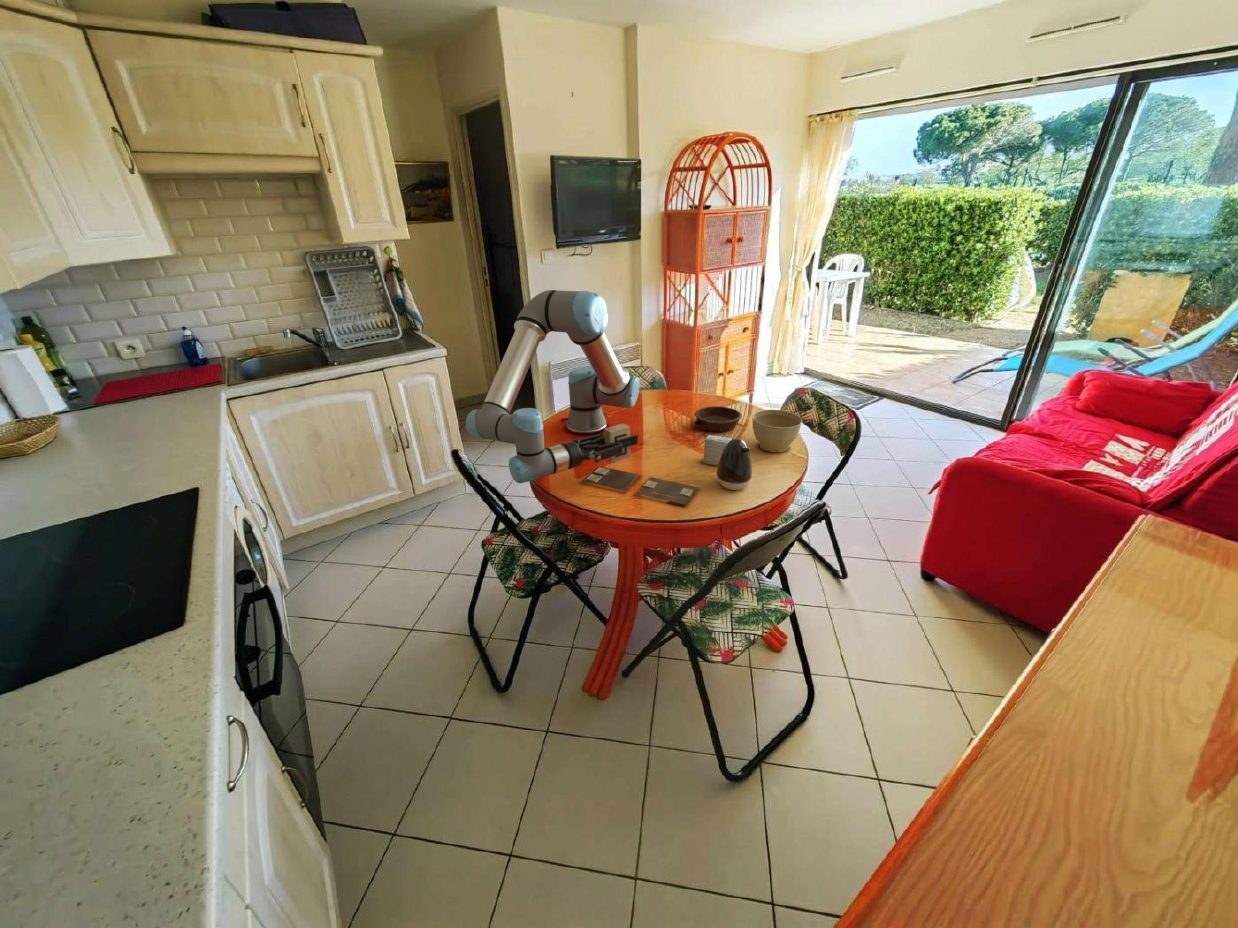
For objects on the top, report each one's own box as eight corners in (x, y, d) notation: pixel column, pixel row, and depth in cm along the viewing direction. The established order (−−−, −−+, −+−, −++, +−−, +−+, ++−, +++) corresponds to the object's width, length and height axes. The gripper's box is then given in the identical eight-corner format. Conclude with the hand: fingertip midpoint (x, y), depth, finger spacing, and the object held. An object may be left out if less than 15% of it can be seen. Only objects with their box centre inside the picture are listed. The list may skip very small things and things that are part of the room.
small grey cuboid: (631, 457, 154) (630, 427, 150) (611, 463, 151) (610, 432, 146) (624, 453, 157) (623, 423, 153) (605, 459, 154) (603, 428, 149)
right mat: (636, 495, 148) (636, 492, 148) (650, 479, 157) (650, 476, 157) (684, 507, 142) (685, 503, 142) (697, 489, 151) (697, 486, 151)
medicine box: (730, 462, 167) (732, 437, 163) (726, 467, 163) (728, 443, 159) (706, 458, 170) (708, 434, 166) (702, 463, 166) (704, 439, 162)
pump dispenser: (730, 497, 146) (735, 449, 140) (708, 482, 155) (712, 436, 148) (758, 489, 151) (763, 442, 144) (735, 475, 159) (739, 430, 152)
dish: (754, 426, 194) (756, 414, 192) (711, 440, 183) (712, 427, 181) (722, 413, 207) (723, 401, 205) (680, 425, 196) (680, 413, 194)
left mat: (582, 483, 156) (582, 480, 155) (599, 468, 164) (599, 465, 164) (623, 492, 150) (623, 489, 149) (639, 476, 159) (639, 473, 158)
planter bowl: (740, 441, 182) (743, 412, 177) (779, 435, 186) (783, 407, 181) (765, 460, 168) (769, 429, 163) (807, 453, 172) (812, 423, 167)
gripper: (551, 458, 151) (617, 439, 162) (579, 480, 138) (649, 458, 149) (549, 434, 147) (617, 417, 159) (578, 455, 135) (649, 434, 146)
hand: (632, 437), depth 154 cm, fingers closed on small grey cuboid, 4 cm apart
